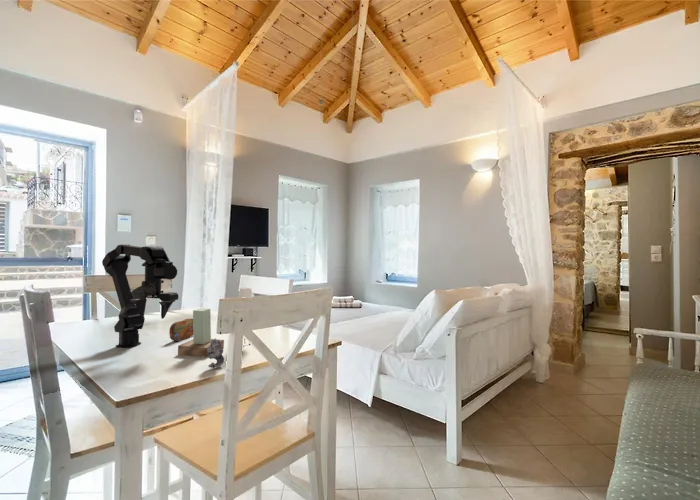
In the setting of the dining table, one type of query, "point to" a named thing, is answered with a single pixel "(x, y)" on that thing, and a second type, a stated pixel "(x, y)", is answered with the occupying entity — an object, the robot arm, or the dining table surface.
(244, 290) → the champagne flute
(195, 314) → the sage block
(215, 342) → the grey lumpy figurine
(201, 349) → the walnut block
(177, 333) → the tin
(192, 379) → the dining table surface
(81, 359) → the dining table surface
